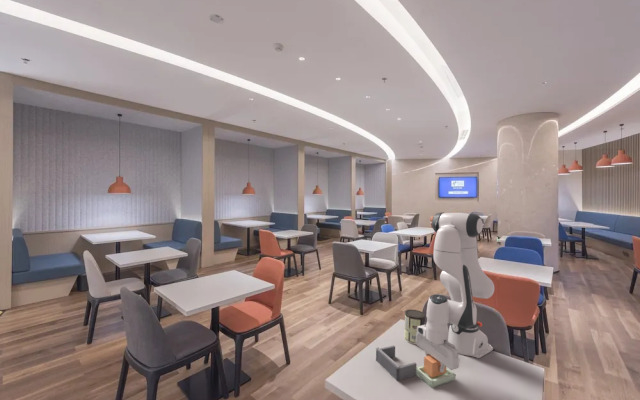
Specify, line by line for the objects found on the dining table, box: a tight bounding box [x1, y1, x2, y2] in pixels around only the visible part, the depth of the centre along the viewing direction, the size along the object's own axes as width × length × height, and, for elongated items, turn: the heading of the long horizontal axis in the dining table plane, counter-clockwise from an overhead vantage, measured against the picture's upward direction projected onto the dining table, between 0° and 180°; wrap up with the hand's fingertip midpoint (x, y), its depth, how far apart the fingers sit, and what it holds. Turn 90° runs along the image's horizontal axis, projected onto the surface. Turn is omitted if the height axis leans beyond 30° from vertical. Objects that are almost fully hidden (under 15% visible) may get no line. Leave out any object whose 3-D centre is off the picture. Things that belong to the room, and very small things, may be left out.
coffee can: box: [403, 309, 426, 345], centre depth 147 cm, size 10×10×14 cm
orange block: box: [423, 355, 447, 377], centre depth 117 cm, size 8×4×6 cm, turn 113°
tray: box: [415, 364, 457, 389], centre depth 117 cm, size 13×10×2 cm
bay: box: [375, 345, 418, 382], centre depth 122 cm, size 10×15×6 cm
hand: (435, 367), depth 117 cm, fingers closed on orange block, 4 cm apart
